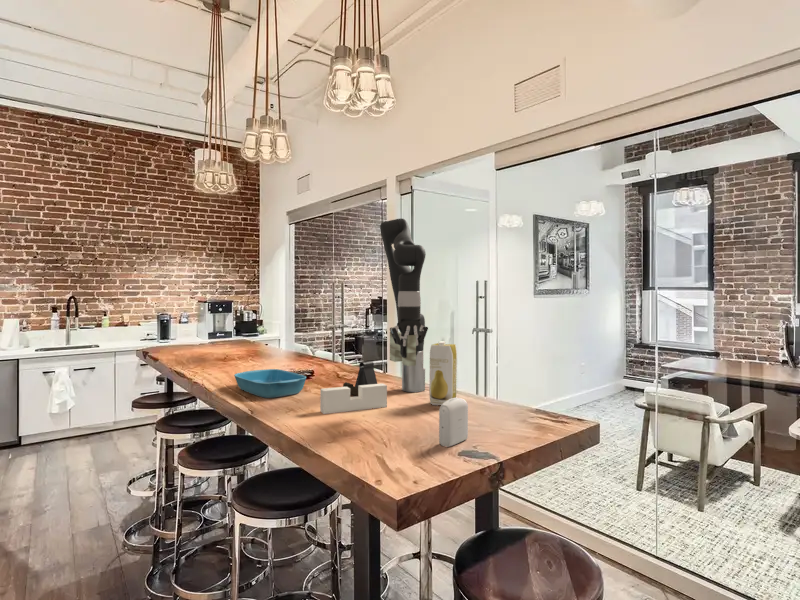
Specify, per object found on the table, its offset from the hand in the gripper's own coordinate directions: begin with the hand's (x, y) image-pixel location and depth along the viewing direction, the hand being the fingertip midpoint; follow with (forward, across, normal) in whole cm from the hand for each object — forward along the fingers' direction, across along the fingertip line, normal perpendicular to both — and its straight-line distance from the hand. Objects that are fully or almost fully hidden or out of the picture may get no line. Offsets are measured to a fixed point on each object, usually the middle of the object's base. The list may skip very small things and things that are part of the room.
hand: (408, 356), depth 152 cm
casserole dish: (+21, +33, -64) cm, 76 cm away
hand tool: (+22, +4, -40) cm, 46 cm away
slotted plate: (+3, 0, -5) cm, 6 cm away
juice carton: (+21, -21, -13) cm, 33 cm away
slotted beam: (+21, +12, -20) cm, 31 cm away
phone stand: (+21, -6, -51) cm, 56 cm away
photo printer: (+21, -1, +26) cm, 33 cm away
